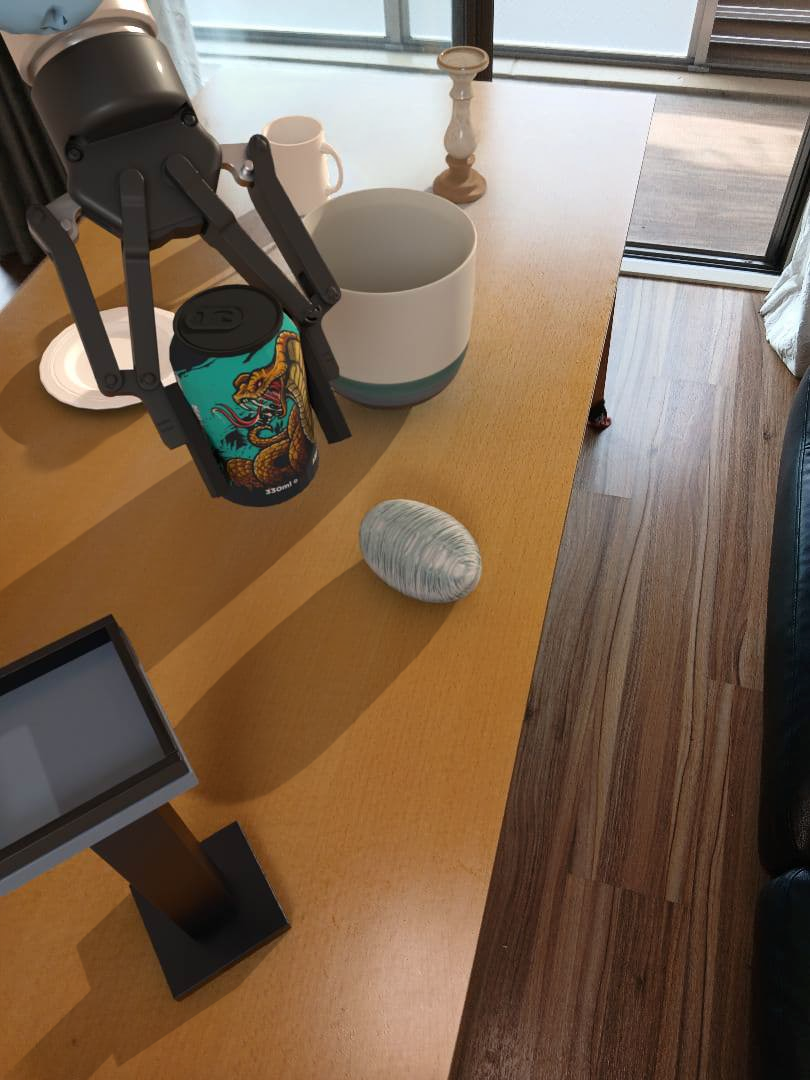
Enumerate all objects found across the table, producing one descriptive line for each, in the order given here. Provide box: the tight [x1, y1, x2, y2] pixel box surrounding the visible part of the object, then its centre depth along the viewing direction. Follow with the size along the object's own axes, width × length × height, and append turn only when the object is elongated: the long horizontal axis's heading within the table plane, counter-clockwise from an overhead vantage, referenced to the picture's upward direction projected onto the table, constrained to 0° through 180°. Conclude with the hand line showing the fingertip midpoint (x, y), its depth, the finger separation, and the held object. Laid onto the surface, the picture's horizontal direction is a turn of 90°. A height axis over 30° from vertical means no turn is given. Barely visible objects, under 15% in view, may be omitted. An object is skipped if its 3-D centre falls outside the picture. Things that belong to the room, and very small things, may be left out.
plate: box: [38, 306, 177, 411], centre depth 109 cm, size 21×21×2 cm
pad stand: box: [0, 613, 292, 1003], centre depth 54 cm, size 10×10×36 cm
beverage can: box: [169, 283, 320, 508], centre depth 47 cm, size 7×7×12 cm
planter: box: [294, 187, 478, 412], centre depth 97 cm, size 20×20×21 cm
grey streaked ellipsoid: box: [358, 498, 483, 604], centre depth 85 cm, size 14×10×10 cm
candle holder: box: [432, 45, 490, 204], centre depth 126 cm, size 9×9×20 cm
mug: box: [261, 114, 344, 217], centre depth 128 cm, size 10×12×12 cm
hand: (282, 466), depth 47 cm, fingers closed on beverage can, 7 cm apart
